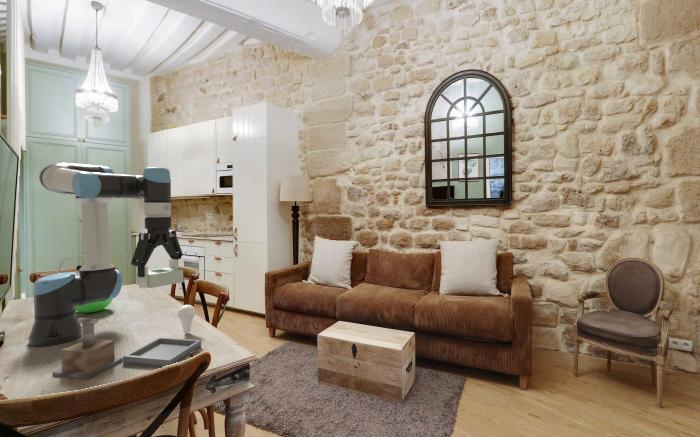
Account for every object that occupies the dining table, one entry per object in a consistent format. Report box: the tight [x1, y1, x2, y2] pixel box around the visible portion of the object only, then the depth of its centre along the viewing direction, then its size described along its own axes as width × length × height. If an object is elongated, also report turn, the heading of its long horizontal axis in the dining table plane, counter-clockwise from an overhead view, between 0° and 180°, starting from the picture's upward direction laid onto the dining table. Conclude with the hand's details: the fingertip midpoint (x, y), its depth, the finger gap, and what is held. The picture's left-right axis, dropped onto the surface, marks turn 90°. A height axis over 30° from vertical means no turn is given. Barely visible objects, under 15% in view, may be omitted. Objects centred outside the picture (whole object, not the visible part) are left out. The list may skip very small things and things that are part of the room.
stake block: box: [52, 317, 123, 380], centre depth 106 cm, size 12×12×15 cm
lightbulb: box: [177, 304, 196, 335], centre depth 135 cm, size 6×6×11 cm
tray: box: [122, 336, 202, 369], centre depth 115 cm, size 16×16×2 cm
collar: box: [136, 266, 184, 289], centre depth 113 cm, size 10×10×4 cm
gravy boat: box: [76, 298, 114, 314], centre depth 162 cm, size 18×17×15 cm
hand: (159, 282), depth 114 cm, fingers closed on collar, 13 cm apart
